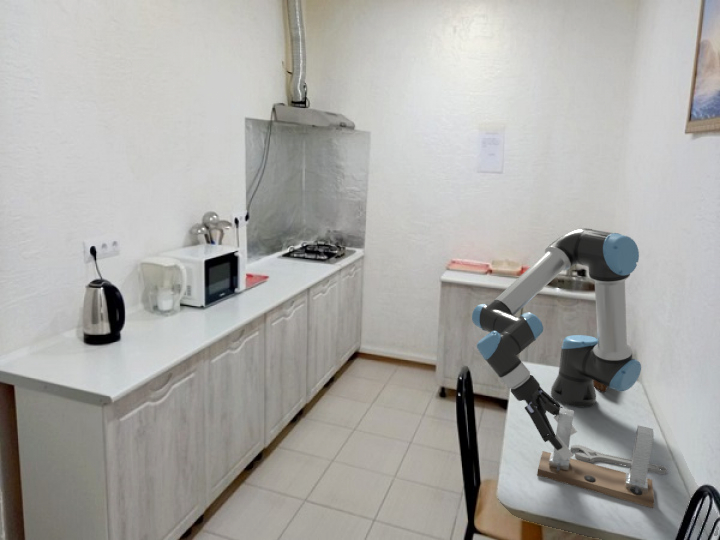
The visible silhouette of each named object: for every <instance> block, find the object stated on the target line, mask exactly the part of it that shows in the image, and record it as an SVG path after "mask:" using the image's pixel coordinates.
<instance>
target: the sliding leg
mask: <svg viewBox="0 0 720 540" xmlns="http://www.w3.org/2000/svg"><path fill="white" fill-rule="evenodd" d="M574 413H575V410H573V409H569V408H564V407H563V408H560V411H559V417H558V422H557V426H556V432H555V435H556V434H557V435H558V436H559V437H560V439H561V440H562V441H563V442H564V444H565V445H566V446H567V447H568V449H569V450H570V441H571V436H572V435H571V428H572V425H573V419H574ZM570 435H571V436H570ZM550 453H551V456H550V460H549V466H553V467H556V468H557V470H556V471H559V470H560V469H564V470H568V469H569V463H570V458H571V457H570V458H568V459H566V460H564V459H563V458H562V457H561V456H560V454H559V453H558V452H557V451H556V449H555V448H554V447H553V451H551V452H550Z"/></svg>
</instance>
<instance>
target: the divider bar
mask: <svg viewBox="0 0 720 540" xmlns="http://www.w3.org/2000/svg"><path fill="white" fill-rule="evenodd" d="M550 456H551V452H548V451H545V450H542V452H541V456H540V459H539V463H538V467H537V473H536V476H539V477H541V478H542V477H543V478H545V479H549V480H552V481H557V482H560V483H563V484H565V485H566V484H567V485H570V486H572V487H573V486H574V487H577V488H581V489H584V490H588V491H592V492H595V493H598V494H602V495H606V496H608V497H611V498H612V497H613V498H616V499H618V500H622V501H623V500H624V501H627V502H630V503H634V504H636V505H637V504H638V505H641V506H644V507H647V508H652V509H653V508H654V504H655V496H654V486H653V479H651V478H648V477H646V478H647V483H648V491H647V493H643V492H641V491H638V493H636V492H635V490H634V489H628V488H625V476H626V473H627V472H626V471H625V472H624V471H621V470H617V469H613V468H609V467H605V466H601V465H599V464H598V465H597V464H594V463H592V462H591V463H590V462H588V461H583V460H580V459H577V458H576V459H575V458H573V457H570V463H569V469H568V470H564V469H560V470H559V471H556V470H557V468H556V467H553V466H549V460H550Z"/></svg>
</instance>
